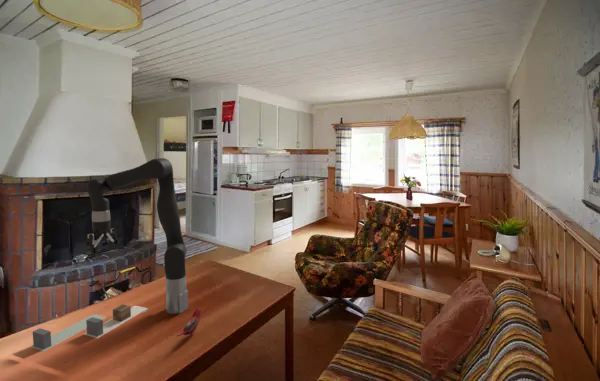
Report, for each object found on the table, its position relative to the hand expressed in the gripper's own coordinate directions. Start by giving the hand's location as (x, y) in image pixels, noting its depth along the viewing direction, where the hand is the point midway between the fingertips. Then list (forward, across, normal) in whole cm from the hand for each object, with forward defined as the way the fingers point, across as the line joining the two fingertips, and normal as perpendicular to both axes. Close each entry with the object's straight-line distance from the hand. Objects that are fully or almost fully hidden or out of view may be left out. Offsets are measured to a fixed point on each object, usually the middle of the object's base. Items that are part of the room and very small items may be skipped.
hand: (102, 251), depth 147 cm
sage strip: (+28, -22, -8) cm, 36 cm away
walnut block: (+27, -7, -19) cm, 34 cm away
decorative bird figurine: (+28, -7, -56) cm, 63 cm away
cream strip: (+28, -9, -19) cm, 35 cm away
